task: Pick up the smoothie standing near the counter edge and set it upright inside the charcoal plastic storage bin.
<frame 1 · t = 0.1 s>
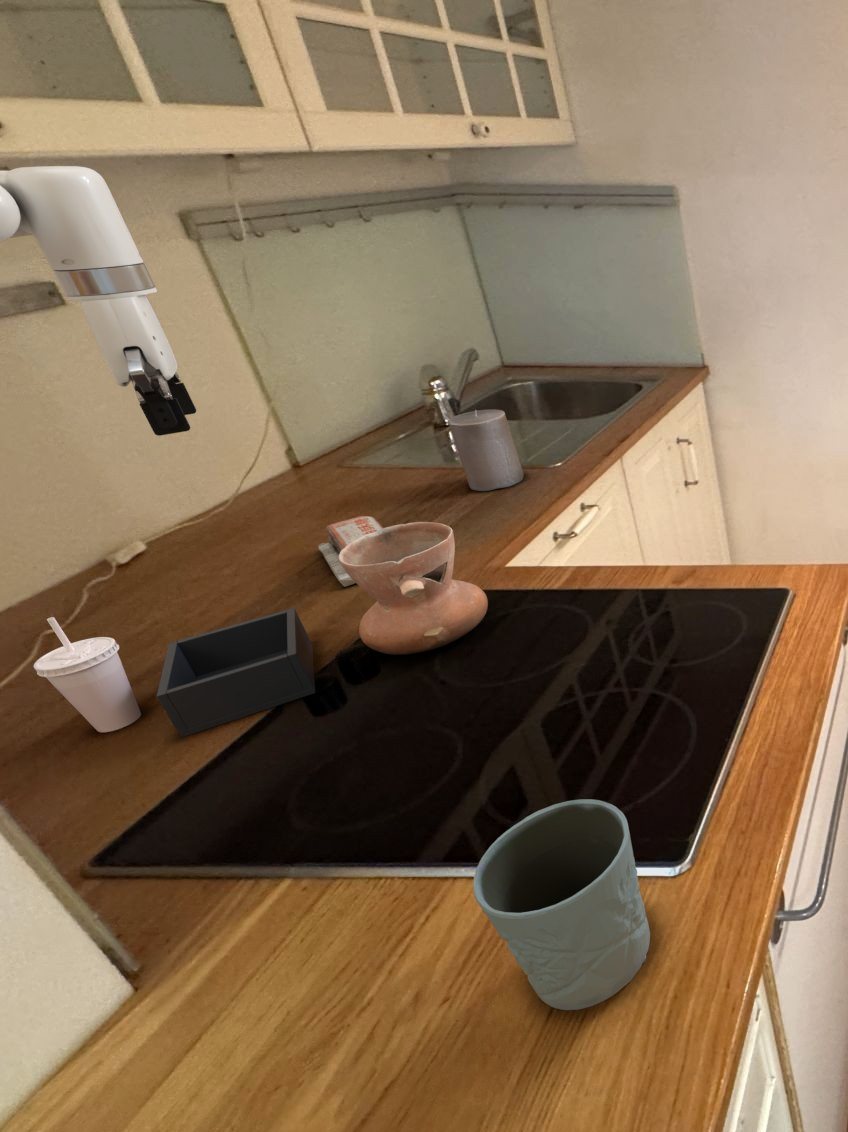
hand: (177, 423, 97), 29 cm above the worktop, tool pointing down, fingers open, 9 cm apart
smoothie: (120, 722, 89), on the worktop
bin: (252, 687, 94), on the worktop
packaged product: (368, 560, 124), on the worktop
embossed green plant pot: (593, 961, 60), on the worktop
pink clay vessel: (433, 634, 104), on the worktop
pillar candle: (497, 483, 153), on the worktop
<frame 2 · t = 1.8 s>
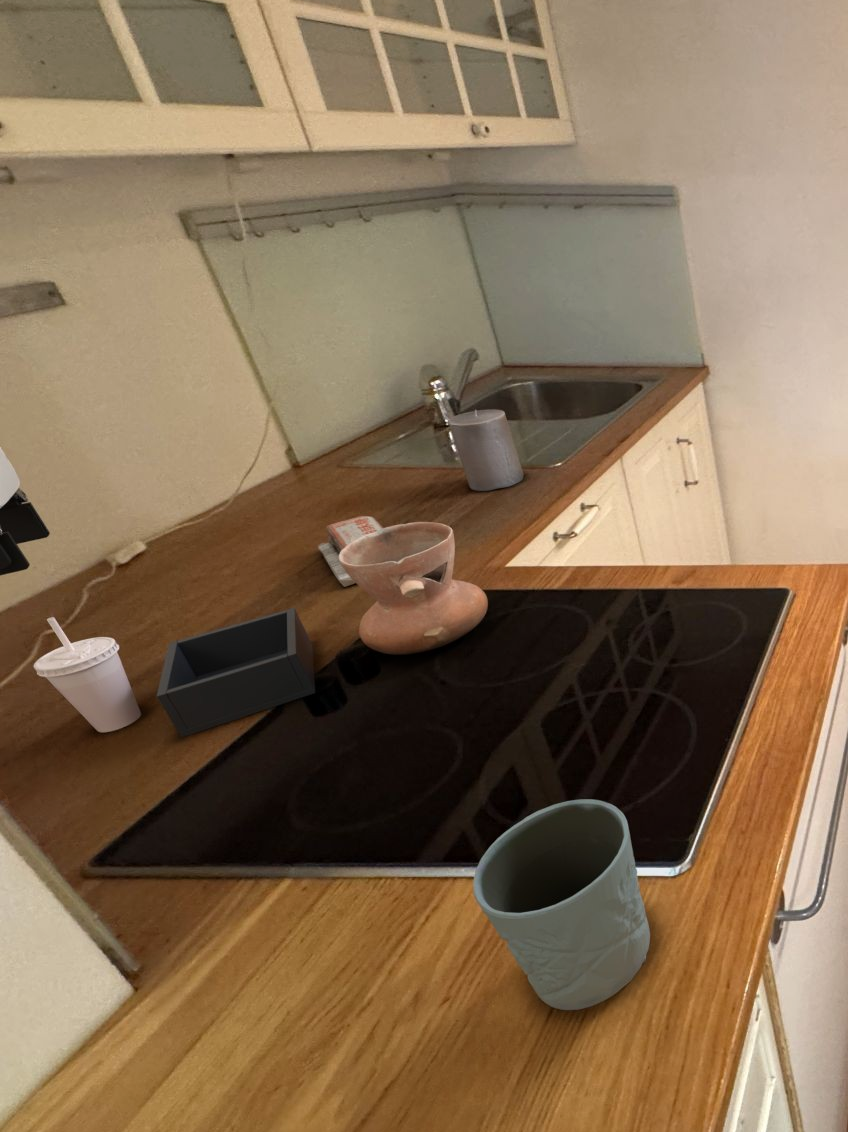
hand: (19, 555, 80), 22 cm above the worktop, tool pointing down, fingers open, 9 cm apart
nothing on the worktop moved.
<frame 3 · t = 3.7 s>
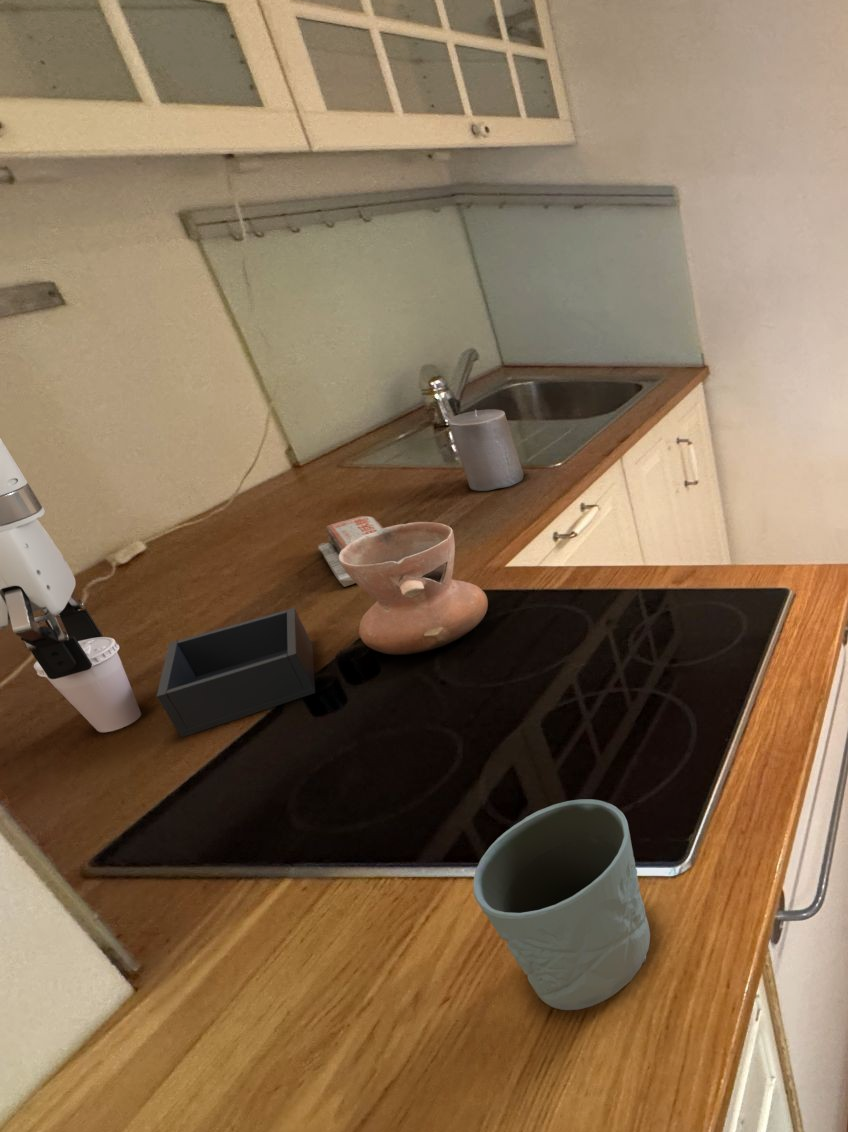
hand: (77, 657, 85), 9 cm above the worktop, tool pointing down, fingers closed on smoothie, 6 cm apart
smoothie: (120, 722, 89), on the worktop, touching gripper
everything else where it was.
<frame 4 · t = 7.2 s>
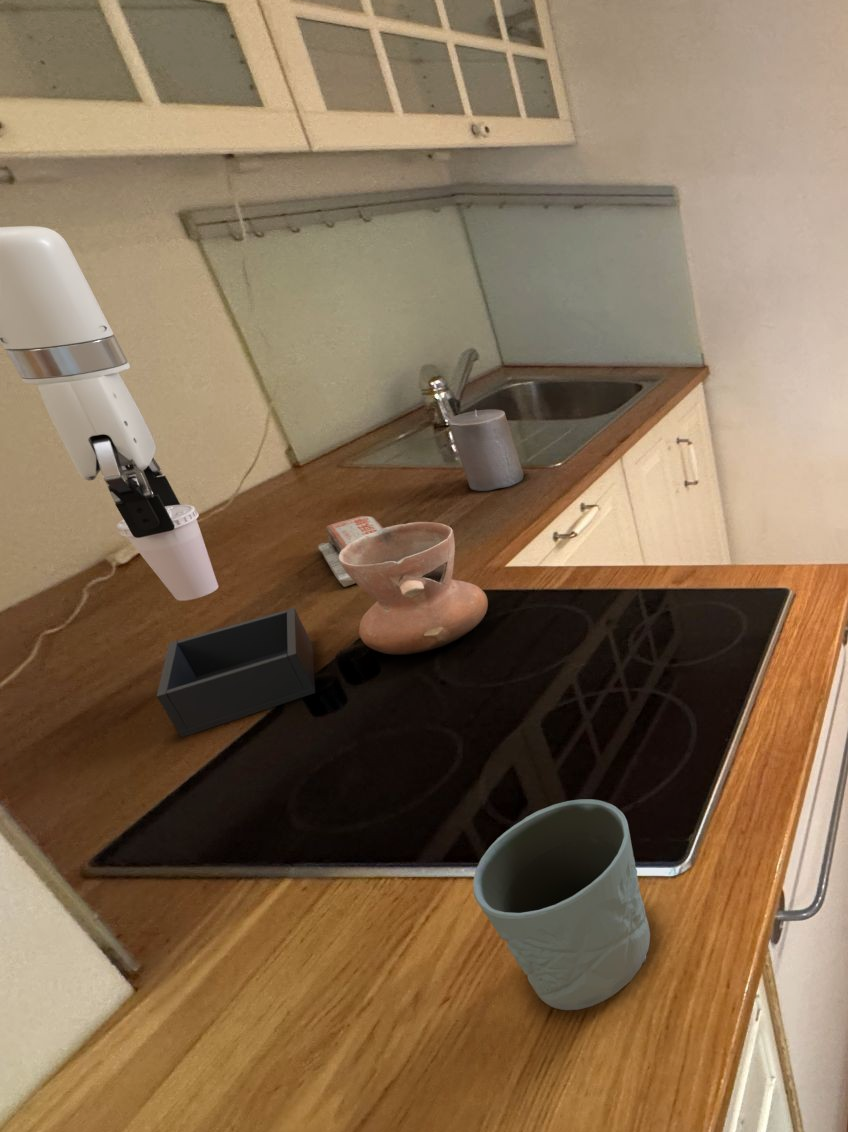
hand: (158, 521, 84), 23 cm above the worktop, tool pointing down, fingers closed on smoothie, 6 cm apart
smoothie: (198, 593, 88), point 13 cm above the worktop, touching gripper
everything else where it was.
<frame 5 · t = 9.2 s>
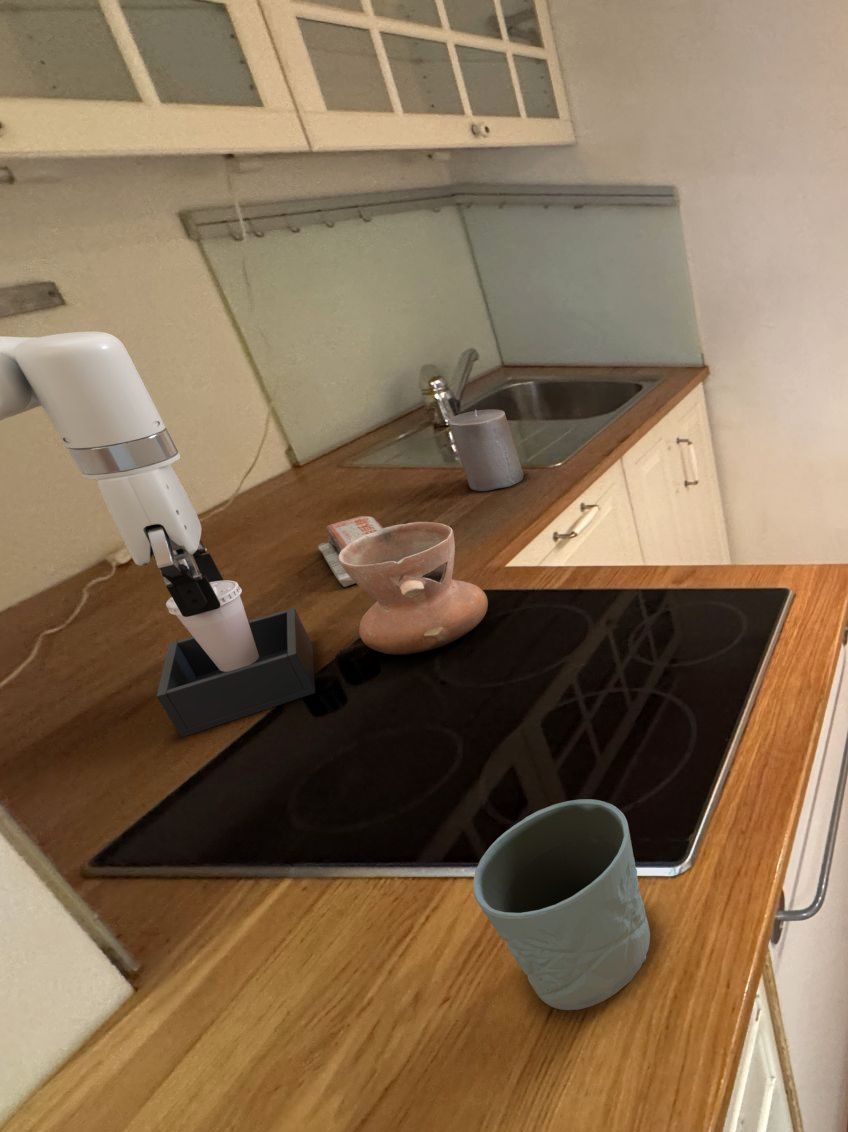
hand: (204, 598, 88), 13 cm above the worktop, tool pointing down, fingers closed on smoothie, 6 cm apart
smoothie: (240, 663, 92), point 3 cm above the worktop, touching gripper
everything else where it was.
when the fingers open (10 cm above the worktop, at t = 10.6 s): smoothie stays where it is, resting on bin.
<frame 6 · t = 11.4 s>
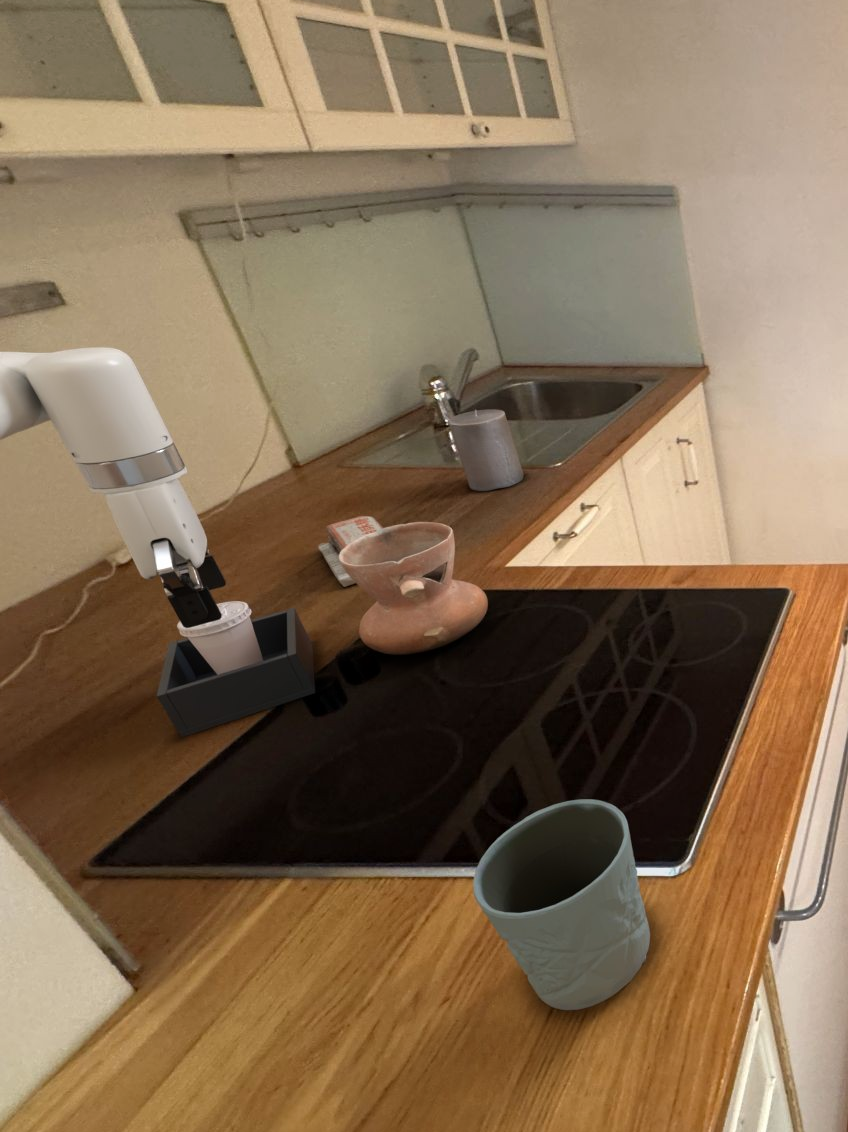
hand: (206, 605, 89), 12 cm above the worktop, tool pointing down, fingers open, 9 cm apart
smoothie: (249, 683, 94), point 1 cm above the worktop, touching bin
everything else where it was.
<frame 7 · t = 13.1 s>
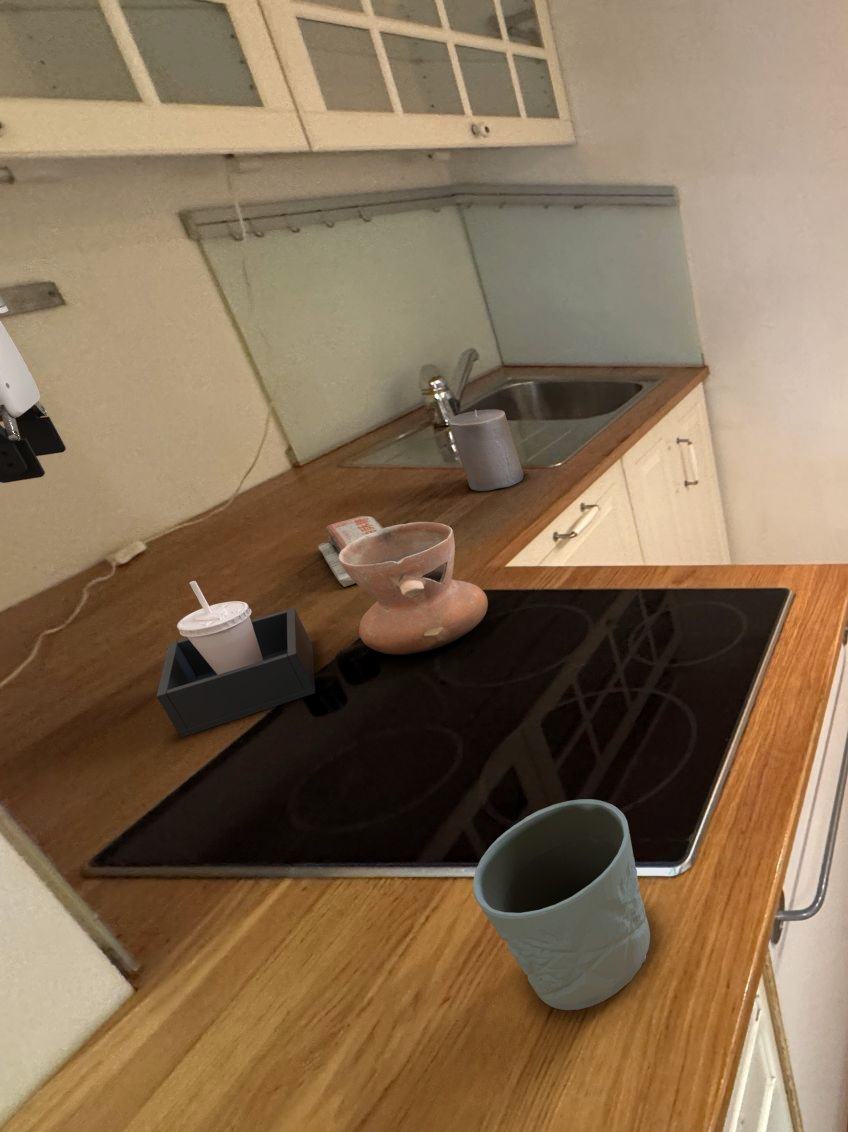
hand: (35, 466, 82), 29 cm above the worktop, tool pointing down, fingers open, 9 cm apart
nothing on the worktop moved.
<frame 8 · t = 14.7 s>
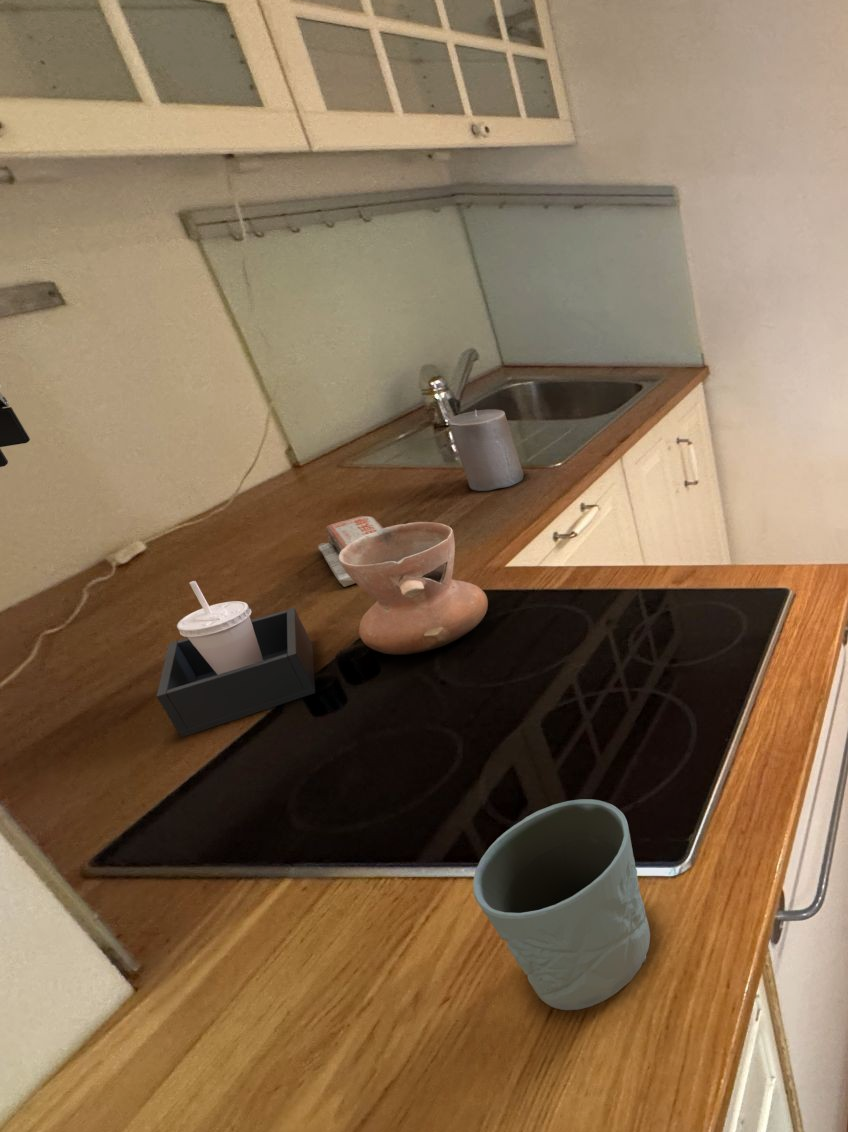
nothing on the worktop moved.
at the end: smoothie inside the target area in the bin (0.1 cm from its centre), point 0.6 cm above the bin's base; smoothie tilted 0°; the gripper is holding nothing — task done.
